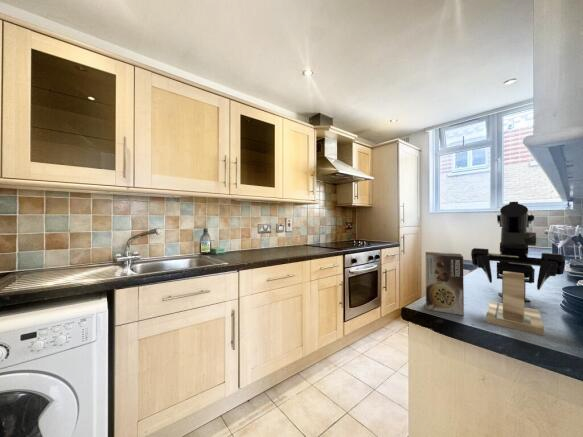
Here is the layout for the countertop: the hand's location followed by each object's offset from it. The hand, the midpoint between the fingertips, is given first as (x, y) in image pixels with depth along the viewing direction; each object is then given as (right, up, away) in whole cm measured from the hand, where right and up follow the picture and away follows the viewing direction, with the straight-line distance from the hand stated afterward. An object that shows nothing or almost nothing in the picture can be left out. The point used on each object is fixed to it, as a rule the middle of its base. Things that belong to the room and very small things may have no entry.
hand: (513, 285), depth 62 cm
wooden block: (-4, -7, -4) cm, 9 cm away
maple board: (0, -9, 0) cm, 9 cm away
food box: (-15, -9, +6) cm, 18 cm away
